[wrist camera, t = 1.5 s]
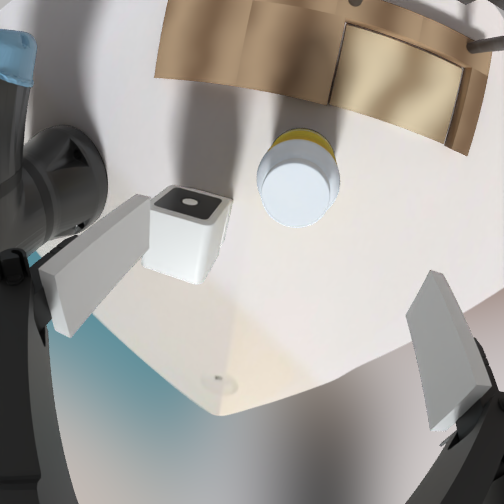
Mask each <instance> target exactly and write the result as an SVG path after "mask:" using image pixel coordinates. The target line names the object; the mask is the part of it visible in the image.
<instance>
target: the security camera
mask: <svg viewBox="0 0 504 504" xmlns="http://www.w3.org/2000/svg"><path fill="white" fill-rule="evenodd" d="M232 204H233V200H232V199H230V198H226V197H223V196H219V195H215V194H212V193H208V192H204V191H201V190H197V189H193V188H190V187H188V188H186V187H182V186H178V185H170V186H168V187H167V188H166V189H164V190H163V191H162V192H160V193H159V194H158V195H156V196H155V197H154V198H152V199H151V203H150V237H149V250H148V251H147V252H146V253H145V254H144V255H143V256H142V266H144V267H145V268H148V269H151V270H154V271H157V272H160V273H162V274H165V275H168V276H171V277H174V278H177V279H180V280H183V281H186V282H189V283H192V284H201V283H203V282H204V280H205V279H206V277H207V275H208V273H209V271H210V270H211V268H212V266H213V264H214V262H215V261H216V259H217V257H218V255H219V250H220V246H221V245H222V244H223V242H224V240H225V236H226V231H227V227H228V222H229V217H230V213H231V208H232Z"/></svg>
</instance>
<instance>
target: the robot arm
mask: <svg viewBox="0 0 504 504" xmlns="http://www.w3.org/2000/svg"><path fill="white" fill-rule="evenodd" d="M36 53H37V43H36V40H35V39H34V37H33V36H32V35H31V34H29V33H27V32H23V31H15V30H7V29H0V504H78V501H77V499H76V496H75V492H74V489H73V486H72V482H71V479H70V475H69V471H68V468H67V463H66V459H65V455H64V451H63V447H62V442H61V437H60V432H59V426H58V421H57V415H56V409H55V402H54V395H53V387H52V378H51V368H50V356H49V339H48V330H47V326H46V325H47V324H48V322H49V321H50V320H51V319H52V321H53V324H54V328H55V330H56V331H58V332H60V333H61V334H63V335H65V336H68V337H69V338H71V337H72V336H73V335H74V334H75V332H76V331H77V330H78V329H79V328H80V326H81V325H82V324H83V323H84V322H85V320H86V319H87V318H88V317H89V316H90V314H91V313H92V312H93V311H94V310H95V309H96V307H97V306H98V305H99V304H100V303H101V302H102V300H103V299H104V298H105V297H106V296H107V295H108V294H109V292H110V291H111V290H112V289H113V288H114V287H115V286H116V284H117V283H118V282H119V281H120V280H121V279H122V278H123V277H124V276H125V274H126V273H127V272H128V271H129V270H130V269H131V268H132V267H133V266H134V265H135V263H136V262H137V261H138V260H139V259H140V258H141V257H142V256H143V255H144V254H145V253H146V252H147V251H148V250H149V237H150V203H151V197H148V196H143V195H139V194H136V195H134V196H133V197H131V198H130V199H129V200H127V201H126V202H124V203H123V204H121V205H120V206H119V207H117V208H116V209H114V210H113V211H111V212H110V213H109V214H107V215H106V216H105V217H103V218H102V219H100V220H99V221H98V222H96V223H95V224H94V225H92V224H93V223H94V222H95V221H96V220H97V219H98V218H99V217H100V215H101V213H102V211H103V209H104V206H105V203H106V198H107V178H106V172H105V168H104V164H103V161H102V159H101V156H100V154H99V152H98V150H97V149H96V147H95V145H94V144H93V143H92V141H91V140H90V139H89V138H88V137H87V136H86V135H85V134H84V133H83V132H81V131H80V130H78V129H76V128H74V127H71V126H67V125H59V126H55V127H51V128H48V129H45V130H43V131H41V132H39V133H38V134H36V135H35V136H34V137H33V138H32V139H31V140H29V141H28V142H27V143H26V144H25V145H24V132H25V121H26V114H27V106H28V100H29V94H30V88H31V87H33V83H34V81H33V79H32V77H33V71H34V64H35V58H36ZM90 225H92V226H91V227H90V228H88V227H89V226H90ZM86 228H88V229H87V230H86V231H84V230H85V229H86ZM82 231H84V232H83V233H82V234H81V235H79V236H78V235H74V234H77V233H80V232H82ZM70 235H74V236H72V237H70V238H67V239H65V240H64V241H62V242H61V243H60V244H58V245H57V247H55V248H53V249H52V250H51V251H50V253H47V254H46V255H45V256H43V257H42V258H41V259H40V260H38V261H37V262H36V263H35V264H34V265H32V266H31V267H30V268H29V264H28V259H27V257H28V256H30V255H31V254H32V253H33V252H34V251H36V250H37V249H38V248H39V247H41V246H42V245H43V244H44V243H46V242H47V241H49V240H54V239H58V238H62V237H66V236H70ZM406 319H407V322H408V326H409V330H410V334H411V338H412V342H413V345H414V350H415V354H416V359H417V363H418V367H419V372H420V377H421V382H422V387H423V392H424V397H425V403H426V408H427V414H428V421H429V427H430V431H446V430H448V429H449V428H450V427H451V426H452V425H453V424H454V423H455V422H456V426H457V430H456V431H455V432H454V433H453V434H452V435H450V436H449V437H448V438H447V439H445V440H444V441H443V442H442V443H441V444H440V446H442V445H444V444H445V443H446V445H445V447H444V448H443V450H442V452H441V453H440V455H439V456H438V458H437V460H436V461H435V463H434V464H433V466H432V467H431V469H430V470H429V472H428V473H427V475H426V476H425V478H424V479H423V480H422V482H421V483H420V485H419V486H418V488H417V489H416V490H415V491H414V493H413V494H412V495H411V497H410V498H409V500H408V501H407V502H406V503H405V504H504V392H500V391H499V390H498V387H497V384H496V382H495V379H494V376H493V373H492V370H491V368H490V366H489V363H488V360H487V359H486V355H485V353H484V351H483V348H482V346H481V345H480V344H479V342H478V341H477V340H476V338H474V337H473V336H472V333H471V331H470V328H469V326H468V324H467V322H466V320H465V318H464V315H463V313H462V311H461V309H460V307H459V305H458V302H457V300H456V298H455V296H454V294H453V292H452V290H451V288H450V286H449V284H448V282H447V280H446V279H445V277H444V275H443V274H442V273H439V272H435V271H432V270H430V271H429V273H428V275H427V277H426V279H425V281H424V283H423V285H422V287H421V288H420V290H419V292H418V294H417V296H416V298H415V300H414V301H413V303H412V305H411V307H410V308H409V310H408V312H407V314H406Z"/></svg>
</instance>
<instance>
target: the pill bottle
mask: <svg viewBox="0 0 504 504" xmlns="http://www.w3.org/2000/svg"><path fill="white" fill-rule="evenodd" d="M257 187H258V191H259V194H260V196H261V199H262V203H263V206H264V208H265V210H266V212H267V213H268V214H269V215H270V217H271V218H273V219H274V220H275V221H276V222H278V223H280V224H282V225H284V226H288V227H293V228H301V227H306V226H309V225H312V224H314V223H315V222H317V221H318V220H319V219H321V218H322V216H323V215H324V214H325V212H326V211H327V210H328V209H329V208H330V207H331V205H332V204H333V203H334V201H335V199H336V197H337V195H338V192H339V187H340V174H339V170H338V166H337V163H336V159H335V156H334V152H333V149H332V147H331V145H330V143H329V142H328V141H327V139H326V138H325V137H324V136H322V135H321V134H320V133H318V132H316V131H314V130H311V129H306V128H296V129H292V130H289V131H287V132H285V133H283V134H282V135H280V136H279V137H278V138H277V139H276V141H275V142H274V143H273V145H272V146H271V147H270V148H269V150H268V151H267V153H266V154H265V155H264V157H263V158H262V160H261V162H260V165H259V167H258V171H257Z"/></svg>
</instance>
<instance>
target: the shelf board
mask: <svg viewBox="0 0 504 504" xmlns="http://www.w3.org/2000/svg"><path fill="white" fill-rule="evenodd" d="M458 1H460V2H462V3H463V4H465V5H466V4H469V3H471V2H473V1H475V0H458ZM488 1H490V2H491V3H493V4H495V5H496V6H498V7H499V8H501V9H502V10H504V0H488ZM345 22H347V23H350V24H354V25H357V26H361V27H364V28H367V29H371V30H374V31H377V32H380V33H383V34H386V35H389V36H391V37H394V38H397V39H400V40H402V41H405V42H408V43H410V44H413V45H415V46H418V47H420V48H422V49H425V50H427V51H429V52H432V53H434V54H436V55H438V56H441V57H443V58H445V59H447V60H449V61H451V62H453V63H455V64H457V65H459V66H461V67H463V68H464V70H463V75H462V80H461V85H460V89H459V93H458V98H457V102H456V106H455V110H454V113H453V117H452V121H451V125H450V128H449V132H448V135H447V139H446V142H445V146H446V147H448V148H450V149H452V150H454V151H457V152H459V153H461V154H463V155H465V156H468V153H469V149H470V146H471V143H472V140H473V136H474V133H475V129H476V125H477V122H478V118H479V114H480V110H481V106H482V102H483V98H484V93H485V89H486V84H487V79H488V74H489V68H490V62H491V56H492V51H502V50H504V36H499V37H494V38H488V39H483V40H478V41H474V40H472V39H470V38H469V37H467V36H465V35H463V34H461V33H459V32H457V31H455V30H453V29H451V28H449V27H447V26H445V25H443V24H441V23H438V22H436V21H434V20H432V19H429V18H427V17H425V16H422V15H420V14H418V13H415V12H413V11H410V10H408V9H405V8H402V7H400V6H397V5H394V4H391V3H388V2H385V1H382V0H168V3H167V7H166V12H165V17H164V22H163V27H162V33H161V38H160V44H159V50H158V56H157V62H156V69H155V76H154V78H165V79H178V80H189V81H198V82H207V83H215V84H222V85H229V86H236V87H242V88H248V89H254V90H260V91H265V92H270V93H275V94H280V95H285V96H290V97H294V98H298V99H303V100H307V101H311V102H315V103H319V104H323V105H327V102H328V97H329V93H330V89H331V84H332V80H333V75H334V71H335V66H336V62H337V57H338V53H339V48H340V43H341V39H342V34H343V29H344V24H345ZM461 73H462V69H461V68H459V67H457V66H455V65H453V64H451V63H449V62H447V61H445V60H443V59H440V58H438V57H436V56H434V55H432V54H429V53H427V52H425V51H422V50H420V49H417V48H415V47H412V46H410V45H407V44H405V43H402V42H399V41H397V40H394V39H391V38H388V37H385V36H383V35H380V34H377V33H373V32H370V31H367V30H364V29H360V28H357V27H354V26H350V25H346V30H345V35H344V40H343V45H342V49H341V54H340V59H339V63H338V68H337V72H336V77H335V81H334V85H333V90H332V94H331V98H330V103H329V105H333V106H336V107H340V108H343V109H347V110H350V111H354V112H357V113H360V114H364V115H367V116H370V117H373V118H376V119H379V120H382V121H385V122H388V123H391V124H394V125H396V126H399V127H402V128H405V129H407V130H410V131H413V132H415V133H418V134H420V135H423V136H425V137H428V138H430V139H433V140H435V141H437V142H440V143H442V144H444V140H445V137H446V134H447V130H448V127H449V123H450V119H451V116H452V112H453V108H454V104H455V100H456V96H457V91H458V87H459V83H460V78H461Z"/></svg>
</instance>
